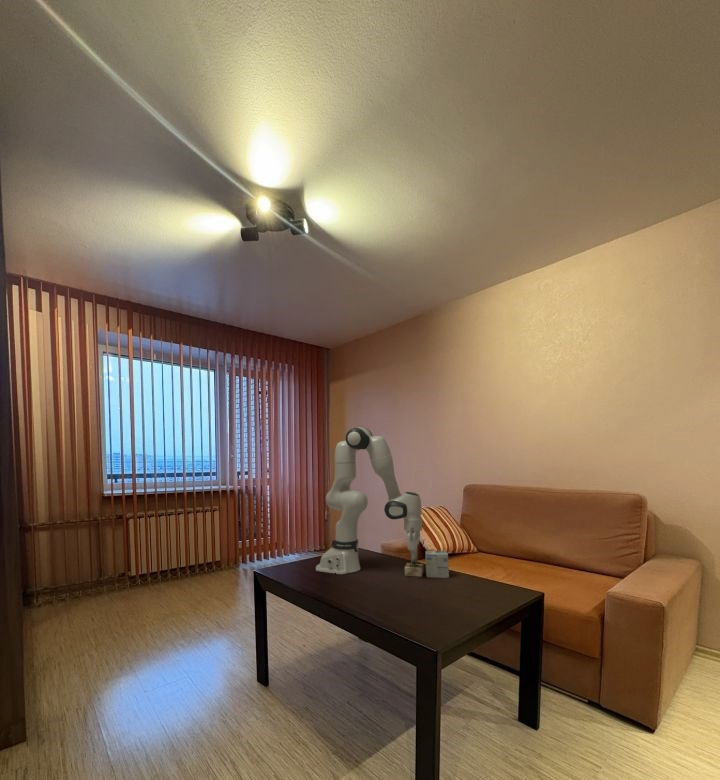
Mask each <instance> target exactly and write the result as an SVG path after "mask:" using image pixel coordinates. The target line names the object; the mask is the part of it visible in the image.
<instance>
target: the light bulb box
mask: <svg viewBox="0 0 720 780" xmlns="http://www.w3.org/2000/svg"><path fill="white" fill-rule="evenodd" d="M424 552H425V554H424V555H425V556H424V559H425V561H424V562H425V575H426V578H435V579H436V578H439V579H442V578H443V579H449V578H450V571H449V570H450V569H449V553H448V551H447V550H425V551H424Z"/></svg>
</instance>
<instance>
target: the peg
mask: <svg viewBox="0 0 720 780" xmlns="http://www.w3.org/2000/svg"><path fill="white" fill-rule="evenodd" d="M415 553H416V556H415V557H412V553H411V552H410V563H411V564H418V546H417V547H416V550H415Z"/></svg>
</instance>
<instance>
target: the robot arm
mask: <svg viewBox="0 0 720 780" xmlns="http://www.w3.org/2000/svg"><path fill="white" fill-rule="evenodd" d="M334 450H335V451H334V479H333V484H332V486H331V488H330V490H329V491H328V492H327V493H326V495H325V503H326V505H327V506H328V508H330V509H332V510H334V511H339V512H342V513H341V516H340V519H339V520H338V521H337V522H336V523H335V538H333V540H332V541H331V542H330V545H331V547H330V548H329V549H328V550H326V551H325V552H324V553H323V554H322V556H321V557H320V561H319V563H318V564H317V565H316V566H315V571H316V572H321V573H329V574H335V573H336V574H335V575H346V574H349V573H355V572H358V571H360V570H361V569H362V568H361V565H360V560H359V552H358V551H359V539H358V524H359V523H358V522H359V520H360V517H361V515H362V513H363V512H365V510H366V509H367V508H368V503H369V501H368V500H369V499H368V497H367V495H366V493H365V492H362V491H359V490H355V489H351V484H352V483H353V481H354V480H356V478H357V465H356V464H357V461H356V454H357V451H360V450H366V451H367V453H368V456H369V460H370V463H371V467H372V469H373V472H374V473H375V474H376V475H377V476H379V477H380V478H381V480H382V482H384V483H383V484H384V487H385V490H386V493H387V496H388V501H387V502H386V503H385V505H384V508H383V511H384V514H385V515H386V517H387V518H388V519H390V520H400V519H403V526H404V527H403V530H404V531H405V532H406V534H407V540H406V541H407V551H409V552H410V554H411V553H412V557H415V556H416V553H415V550H416V547H417V548H418V544H419V542H420V538H421V531H423V518H422V508H423V507H422V500H421V497H420V495H419V494H418V493H416V492H413V491H405V492H404V493H403V494H401V492H400V489H399V485H398V482H397V480H396V477H395V468H394V461H393V456H392V453H391V450H390V447H389V445H388V442H387V441H386V439H385V437H384V436H380V435H376V436H374V435H373V433H372V431H371V430H370V429H368V428H367V427H361V426H360V427H359V426H358V427H353V428H351V429H349V430H348V431H347V432H346V434H345V440H341V441H339V442H338V443H337V444H336V446H335V449H334Z"/></svg>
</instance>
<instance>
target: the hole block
mask: <svg viewBox="0 0 720 780" xmlns="http://www.w3.org/2000/svg"><path fill="white" fill-rule="evenodd" d="M423 573H424V564H423V563H417V564H411V562H406V564H405V565H404V576H406V577H407V576H409V577H423Z"/></svg>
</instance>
